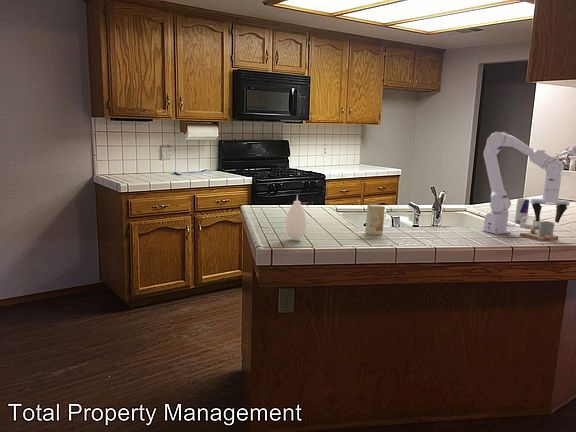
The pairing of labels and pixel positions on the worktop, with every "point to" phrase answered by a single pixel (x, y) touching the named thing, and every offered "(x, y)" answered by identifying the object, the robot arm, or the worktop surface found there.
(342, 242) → the worktop surface
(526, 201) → the energy drink
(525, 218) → the feeder chute
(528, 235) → the pin block
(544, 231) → the sleeve
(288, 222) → the sauce bottle
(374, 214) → the skincare box
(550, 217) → the worktop surface
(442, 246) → the worktop surface
